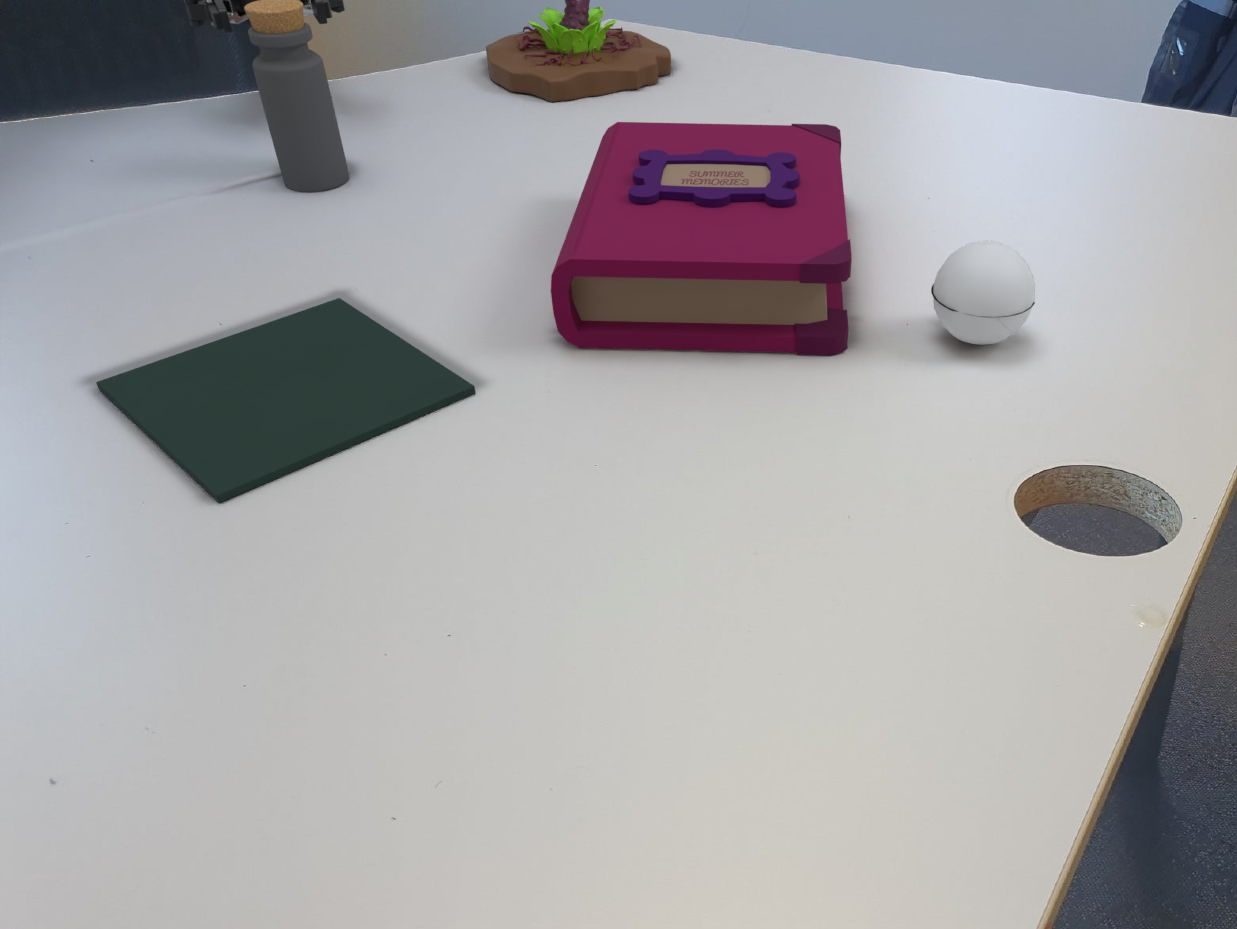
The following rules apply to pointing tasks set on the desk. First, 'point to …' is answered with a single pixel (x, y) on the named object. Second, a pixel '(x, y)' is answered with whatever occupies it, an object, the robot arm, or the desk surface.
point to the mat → (281, 395)
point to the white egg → (983, 292)
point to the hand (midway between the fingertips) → (274, 17)
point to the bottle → (296, 97)
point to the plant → (575, 56)
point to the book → (708, 241)
